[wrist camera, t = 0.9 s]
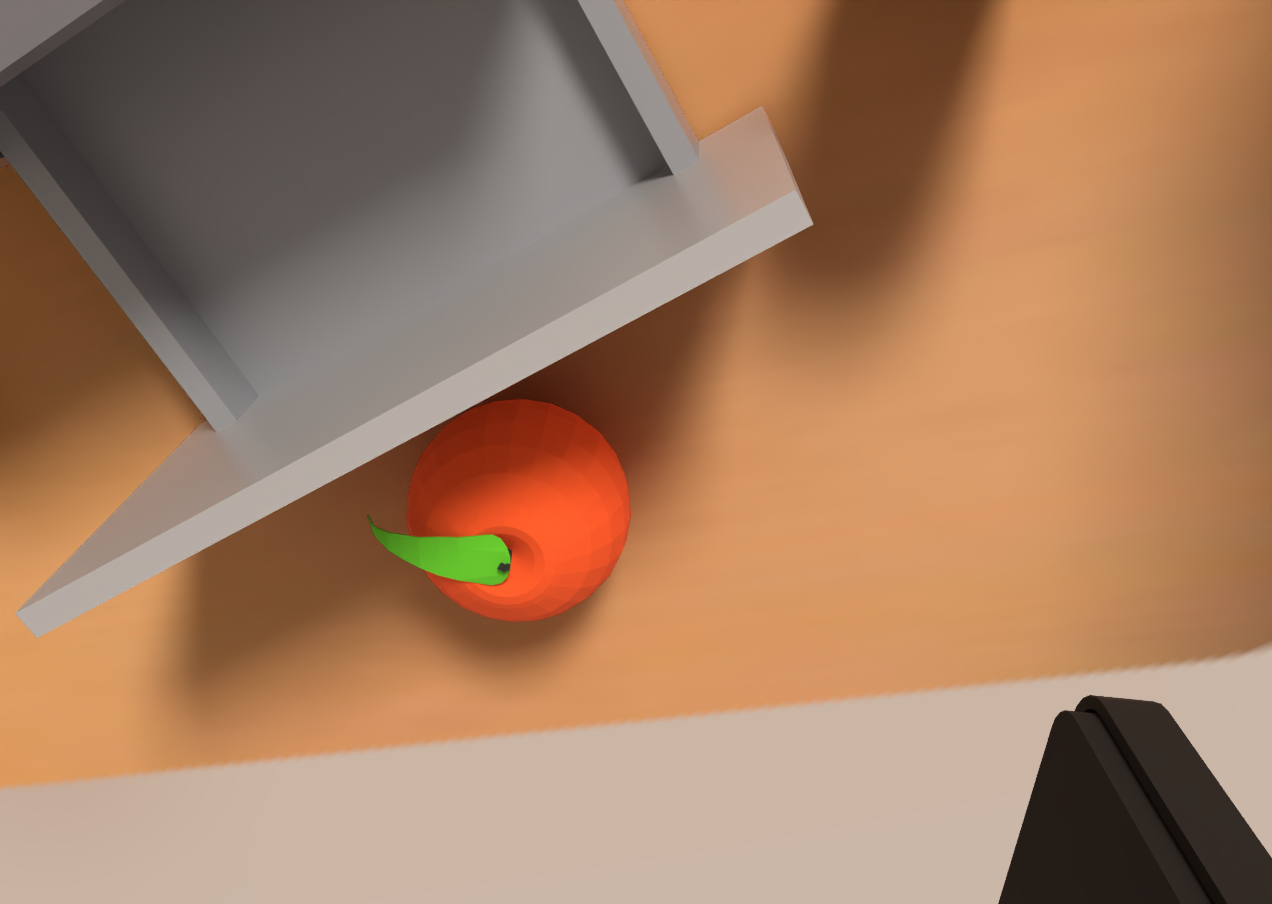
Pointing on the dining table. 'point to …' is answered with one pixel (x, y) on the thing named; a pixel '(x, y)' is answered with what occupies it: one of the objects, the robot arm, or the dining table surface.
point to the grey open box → (363, 226)
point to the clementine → (515, 511)
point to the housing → (41, 31)
